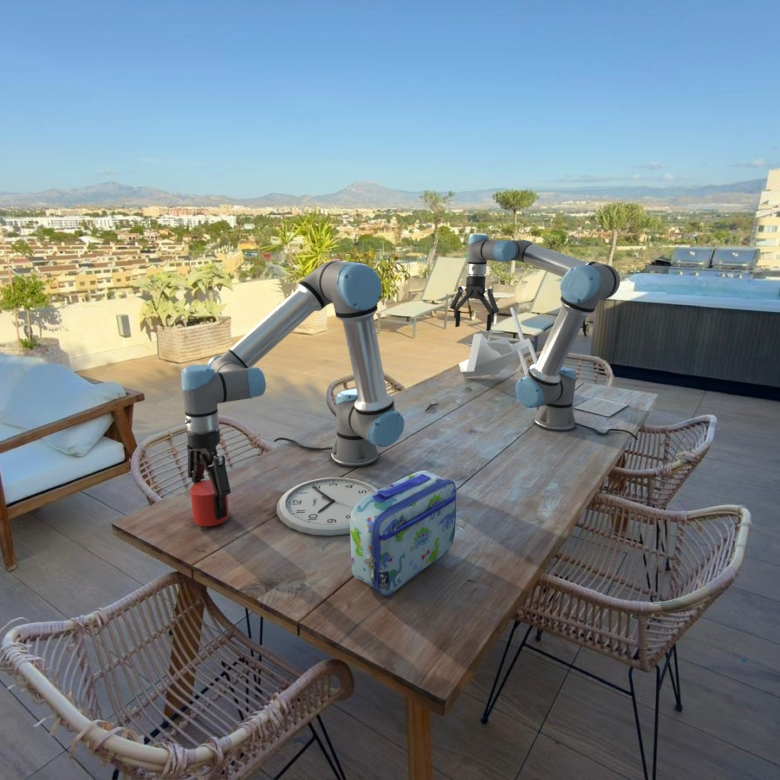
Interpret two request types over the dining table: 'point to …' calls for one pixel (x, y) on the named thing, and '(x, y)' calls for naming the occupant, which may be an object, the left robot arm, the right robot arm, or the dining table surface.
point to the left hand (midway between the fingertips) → (211, 510)
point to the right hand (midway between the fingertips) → (472, 328)
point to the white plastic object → (496, 354)
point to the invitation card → (601, 406)
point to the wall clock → (322, 505)
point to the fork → (432, 403)
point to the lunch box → (402, 530)
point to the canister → (205, 504)
